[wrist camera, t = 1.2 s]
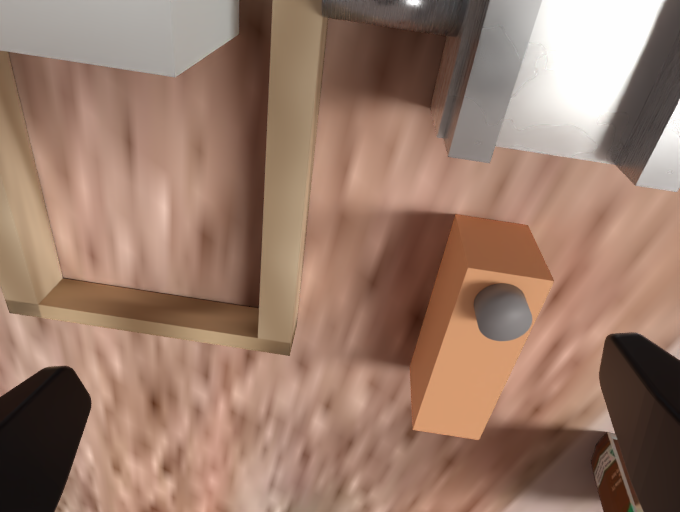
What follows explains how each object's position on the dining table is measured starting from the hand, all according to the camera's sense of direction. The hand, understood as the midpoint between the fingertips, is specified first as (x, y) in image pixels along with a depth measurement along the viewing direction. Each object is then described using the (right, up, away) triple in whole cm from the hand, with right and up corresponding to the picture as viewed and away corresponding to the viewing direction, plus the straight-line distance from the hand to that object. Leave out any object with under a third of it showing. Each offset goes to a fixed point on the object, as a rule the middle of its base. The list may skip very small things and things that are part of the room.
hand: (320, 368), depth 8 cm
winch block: (+5, +10, +7) cm, 14 cm away
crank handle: (+6, 0, +14) cm, 16 cm away
